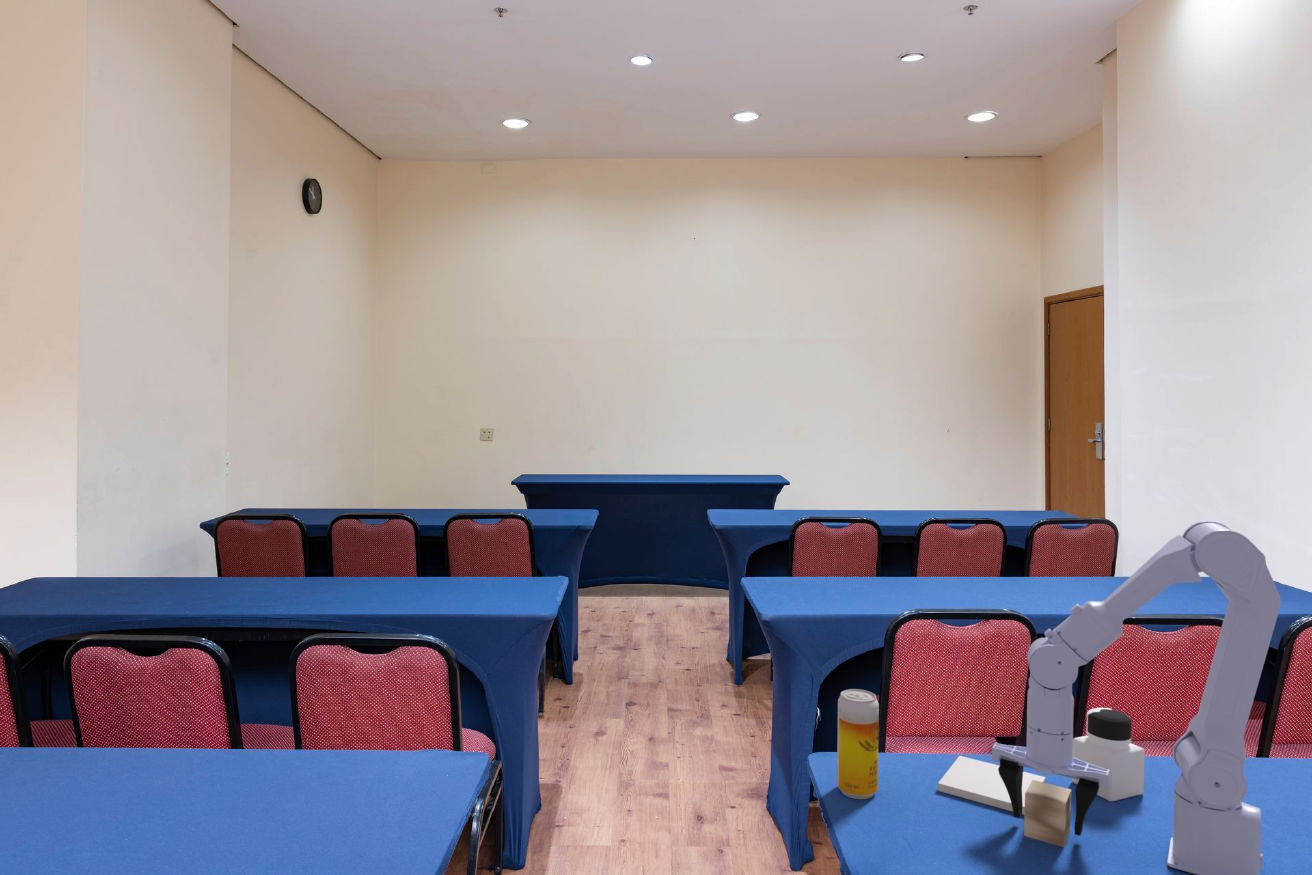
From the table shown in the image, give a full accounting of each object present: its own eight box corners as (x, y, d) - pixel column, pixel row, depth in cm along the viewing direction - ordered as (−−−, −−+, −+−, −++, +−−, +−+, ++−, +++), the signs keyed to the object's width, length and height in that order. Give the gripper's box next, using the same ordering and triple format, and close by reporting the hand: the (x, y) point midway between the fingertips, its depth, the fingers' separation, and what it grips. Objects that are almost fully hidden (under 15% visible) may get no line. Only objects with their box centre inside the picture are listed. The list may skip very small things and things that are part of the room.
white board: (1045, 784, 125) (1045, 776, 125) (1029, 816, 115) (1029, 807, 115) (959, 762, 133) (959, 755, 133) (937, 790, 123) (937, 782, 123)
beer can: (879, 802, 119) (880, 703, 119) (837, 798, 121) (838, 700, 120) (876, 783, 125) (877, 689, 125) (836, 780, 126) (837, 686, 126)
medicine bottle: (1144, 794, 122) (1146, 717, 122) (1111, 802, 120) (1113, 723, 119) (1103, 774, 129) (1105, 701, 128) (1070, 781, 126) (1072, 707, 126)
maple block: (1070, 831, 111) (1071, 789, 111) (1064, 847, 107) (1065, 803, 107) (1031, 820, 114) (1032, 779, 114) (1024, 835, 110) (1025, 793, 110)
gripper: (987, 723, 111) (985, 819, 112) (1105, 750, 103) (1103, 853, 103) (999, 708, 117) (997, 799, 118) (1112, 732, 109) (1110, 830, 109)
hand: (1047, 823), depth 111 cm, fingers open, 7 cm apart
